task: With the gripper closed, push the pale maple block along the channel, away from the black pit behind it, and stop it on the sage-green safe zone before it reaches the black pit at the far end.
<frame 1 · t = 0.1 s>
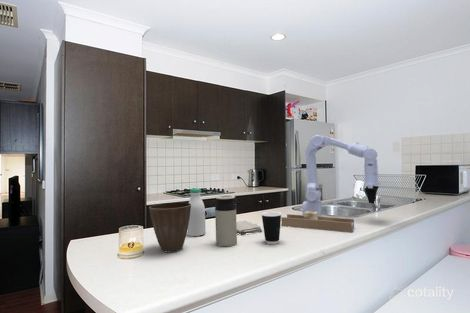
hand: (372, 202, 133), 10 cm above the counter, tool pointing down, fingers open, 7 cm apart
trap track: (316, 226, 128), on the counter
plant pot: (171, 249, 101), on the counter
dixie cup: (272, 242, 106), on the counter
travel mug: (226, 244, 105), on the counter
maple block: (311, 221, 129), point 2 cm above the counter, touching trap track
milk bottle: (196, 235, 120), on the counter
washcloth: (242, 231, 127), on the counter
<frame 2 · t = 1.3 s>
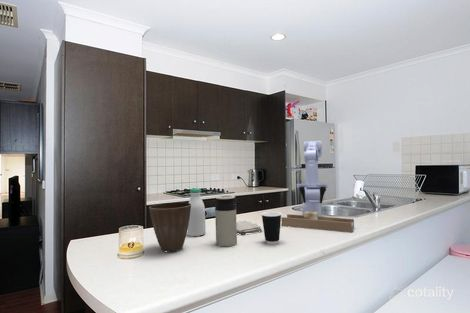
hand: (312, 202, 133), 10 cm above the counter, tool pointing down, fingers open, 7 cm apart
nothing on the counter moved.
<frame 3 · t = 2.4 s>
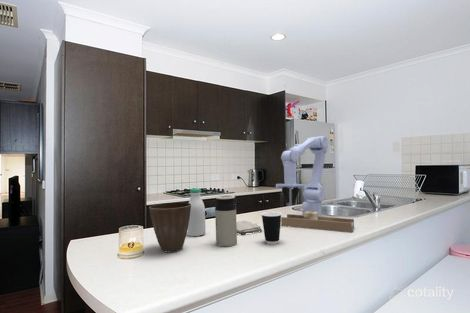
hand: (291, 203, 134), 10 cm above the counter, tool pointing down, fingers closed
nothing on the counter moved.
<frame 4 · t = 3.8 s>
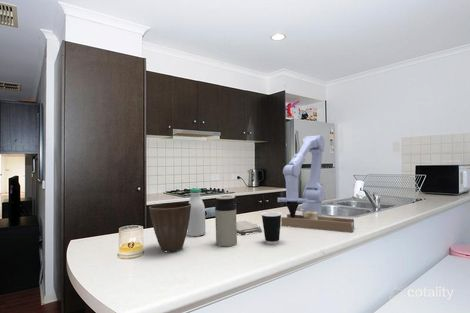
hand: (292, 217, 134), 3 cm above the counter, tool pointing down, fingers closed
nothing on the counter moved.
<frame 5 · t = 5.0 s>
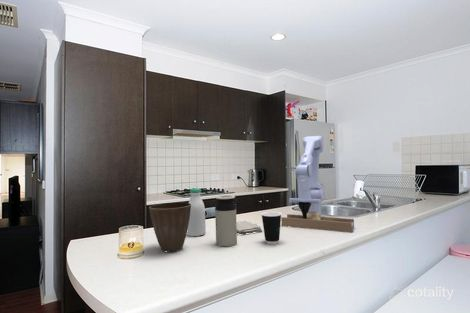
hand: (305, 218, 131), 4 cm above the counter, tool pointing down, fingers closed
maple block: (313, 221, 129), point 2 cm above the counter, touching gripper, trap track
everything else where it was.
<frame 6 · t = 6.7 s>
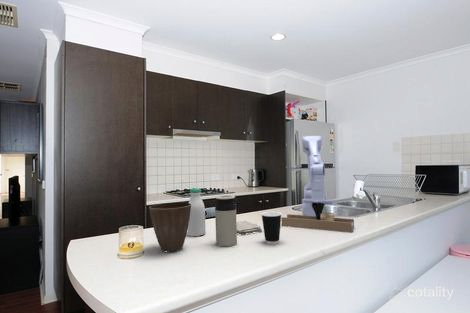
hand: (318, 219, 127), 4 cm above the counter, tool pointing down, fingers closed
maple block: (327, 222, 125), point 2 cm above the counter, touching gripper, trap track
everything else where it was.
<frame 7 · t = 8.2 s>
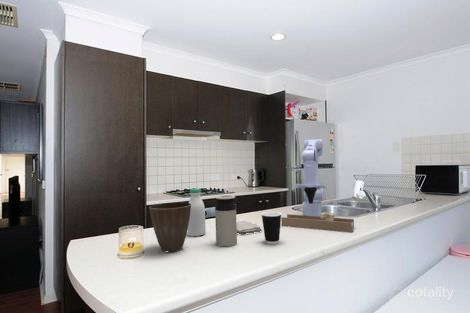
hand: (311, 203, 132), 10 cm above the counter, tool pointing down, fingers closed
maple block: (327, 222, 125), point 2 cm above the counter, touching trap track
everything else where it was.
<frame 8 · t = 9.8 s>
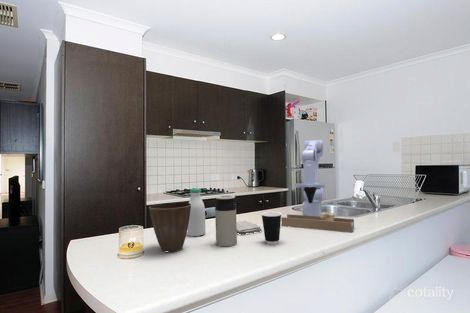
hand: (310, 202, 133), 10 cm above the counter, tool pointing down, fingers closed
nothing on the counter moved.
at the end: maple block 1.3 cm from the target spot on the trap track, point 2.5 cm above the trap track's base; maple block tilted 0° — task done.
